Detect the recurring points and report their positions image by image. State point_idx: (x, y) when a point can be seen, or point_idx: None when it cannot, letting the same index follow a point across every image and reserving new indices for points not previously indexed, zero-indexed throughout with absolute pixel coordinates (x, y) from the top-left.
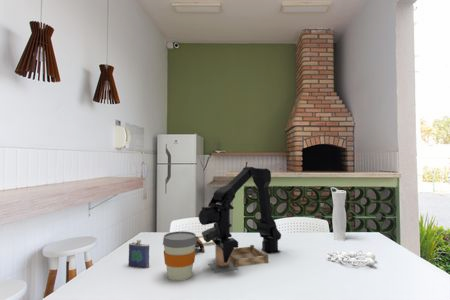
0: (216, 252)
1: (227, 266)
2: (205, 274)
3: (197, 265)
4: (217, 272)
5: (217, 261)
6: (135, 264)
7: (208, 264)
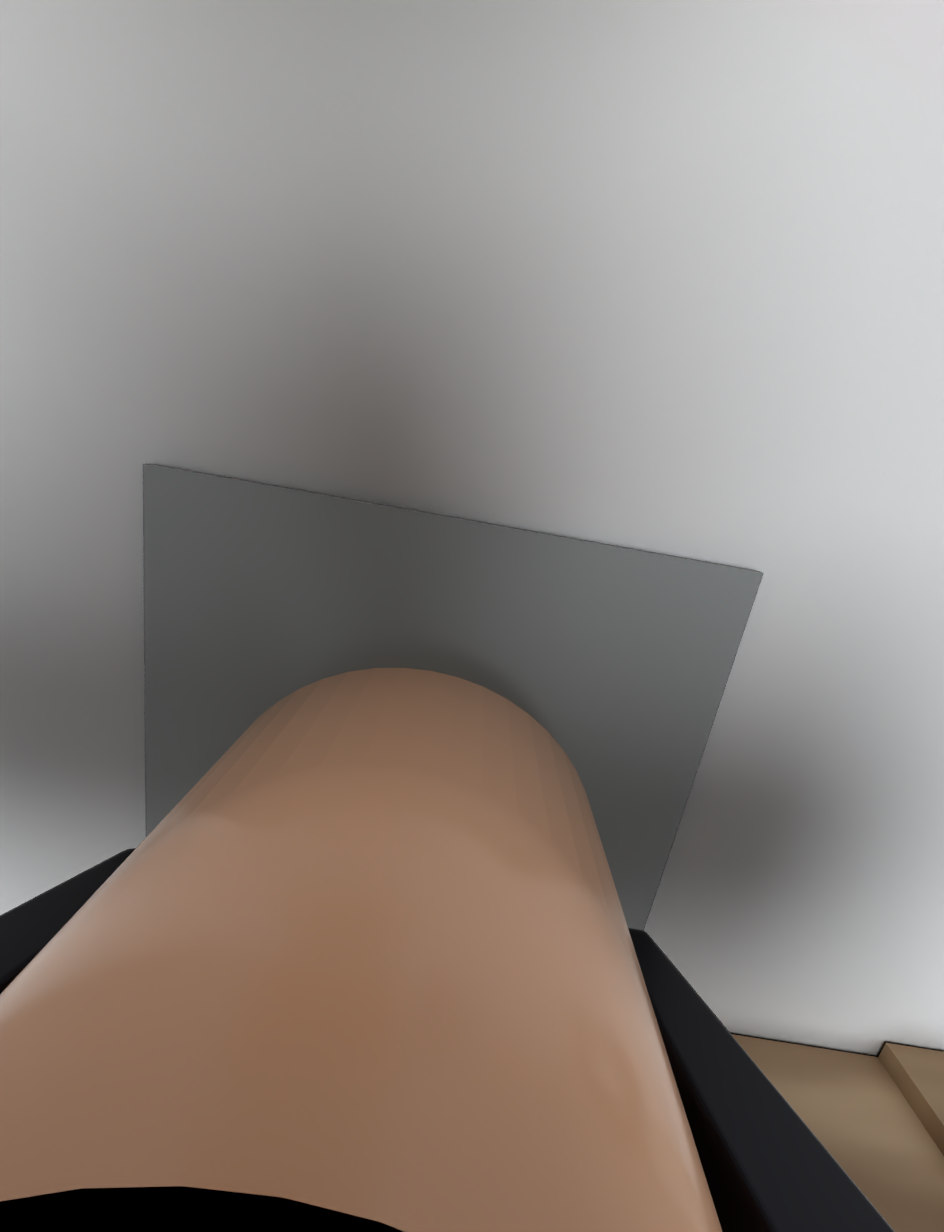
0: (200, 999)
1: None
2: (192, 210)
3: (882, 297)
4: (159, 536)
5: (310, 719)
6: None
7: (721, 583)
